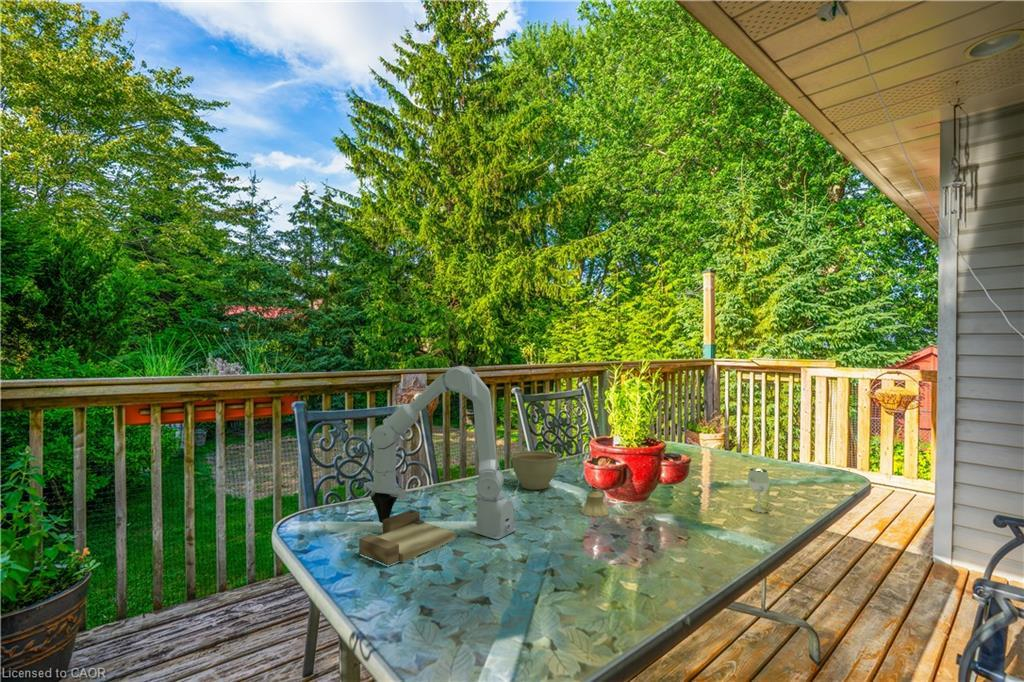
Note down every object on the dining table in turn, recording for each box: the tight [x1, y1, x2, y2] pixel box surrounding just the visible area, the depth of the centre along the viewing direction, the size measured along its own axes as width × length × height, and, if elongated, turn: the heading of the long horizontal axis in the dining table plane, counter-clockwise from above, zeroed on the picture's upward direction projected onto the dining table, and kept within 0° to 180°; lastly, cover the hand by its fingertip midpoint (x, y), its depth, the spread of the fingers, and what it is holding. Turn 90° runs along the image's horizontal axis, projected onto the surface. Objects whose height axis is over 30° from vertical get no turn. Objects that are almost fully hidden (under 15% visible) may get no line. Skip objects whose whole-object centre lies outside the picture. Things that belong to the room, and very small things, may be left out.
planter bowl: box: [511, 450, 559, 490], centre depth 171 cm, size 16×16×11 cm
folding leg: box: [381, 509, 421, 535], centre depth 128 cm, size 3×10×4 cm, turn 146°
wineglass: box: [747, 467, 770, 512], centre depth 147 cm, size 6×6×12 cm
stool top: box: [358, 519, 457, 565], centre depth 118 cm, size 13×20×4 cm, turn 144°
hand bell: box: [580, 457, 610, 518], centre depth 144 cm, size 8×8×16 cm
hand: (384, 521), depth 131 cm, fingers closed
